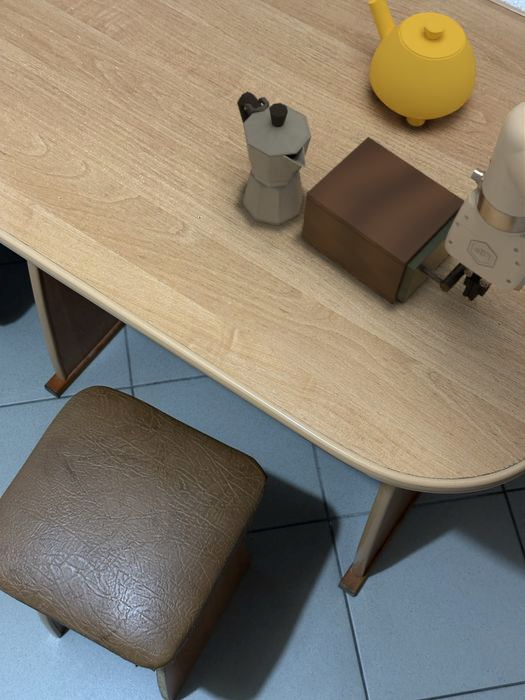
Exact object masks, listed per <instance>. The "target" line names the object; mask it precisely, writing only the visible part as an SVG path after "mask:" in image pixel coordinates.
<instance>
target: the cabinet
mask: <svg viewBox="0 0 525 700" xmlns="http://www.w3.org/2000/svg"><path fill="white" fill-rule="evenodd" d="M464 201H465V199H463V198H461V197H460V196H458V195H457V194H455V193H454V192H452V191H450V190H449V189H447V188H446V187H445V186H443V185H442V184H440V183H438V181H436V180H434V178H432V177H430V176H428V175H427V174H425V173H424V172H422V171H421V170H420V169H418V168H416V167H415V166H413V165H412V164H411V163H409V162H407V161H405V159H403V158H401V157H400V156H398V155H397V154H396V153H394V152H393V151H390V150H389V149H388V148H386V147H385V146H384V145H382V144H381V143H379V142H377V141H376V140H374V139H373V138H372V137H370V136H367V137H366V138H365V139H364V140H362V142H361V143H359V144H358V145H357V146H356V147H355V148H354V149H353V150H352V151H351V152H350V153H349V154H348V155H347V156H346V157H344V158H343V159H342V160H341V161H340V162H339V163H338V164H337V165H336V166H334V167H333V168H332V169H331V170H330V171H329V172H328V173H326V175H325V176H323V177H322V178H321V179H320V180H319V181H318V182H317V183H316V184H314V186H313V187H312V188H311V189H309V190H308V191H307V192H306V197H305V202H304V203H305V204H304V211H303V221H302V229H301V239H302V240H304V241H305V242H307V243H308V244H310V245H311V246H312V247H314V248H315V249H316V250H318V251H319V252H320V253H322V254H323V255H325V256H326V257H328V258H329V259H330V260H332V261H333V262H334V263H336V264H337V265H338V266H340V267H341V268H343V269H344V270H345V271H346V272H348V273H349V274H351V275H352V276H353V277H355V278H356V279H358V280H359V281H360V282H362V283H363V284H364V285H366V287H368V288H370V289H371V290H372V291H374V292H375V293H376V294H378V295H379V296H381V297H382V298H383V299H384V300H386V301H388V302H389V303H390V304H391V305H393V304H394V303H395V302H396V301H397V299H398V298H396V297H397V294H398V291H399V288H400V285H401V282H402V279H403V275H404V272H405V269H406V266H407V264H408V263H409V261H410V260H411V259H412V258H413V257H414V256H415V255H416V254H417V253H418V252H419V251H420V250H421V249H422V248H423V247H424V246H425V245H426V244H427V243H428V242H429V241H430V240H431V239H432V238H433V237H434V236H435V235H436V234H437V233H438V231H440V230H441V229H442V228H443V227H444V226H445V225H446V224H447V223H448V222H449V221H450V220H451V219H452V218H453V217H454V216H455V214H456V213H457V212H458V211H459V210H460V208H461V206H462V205H463V203H464Z"/></svg>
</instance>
